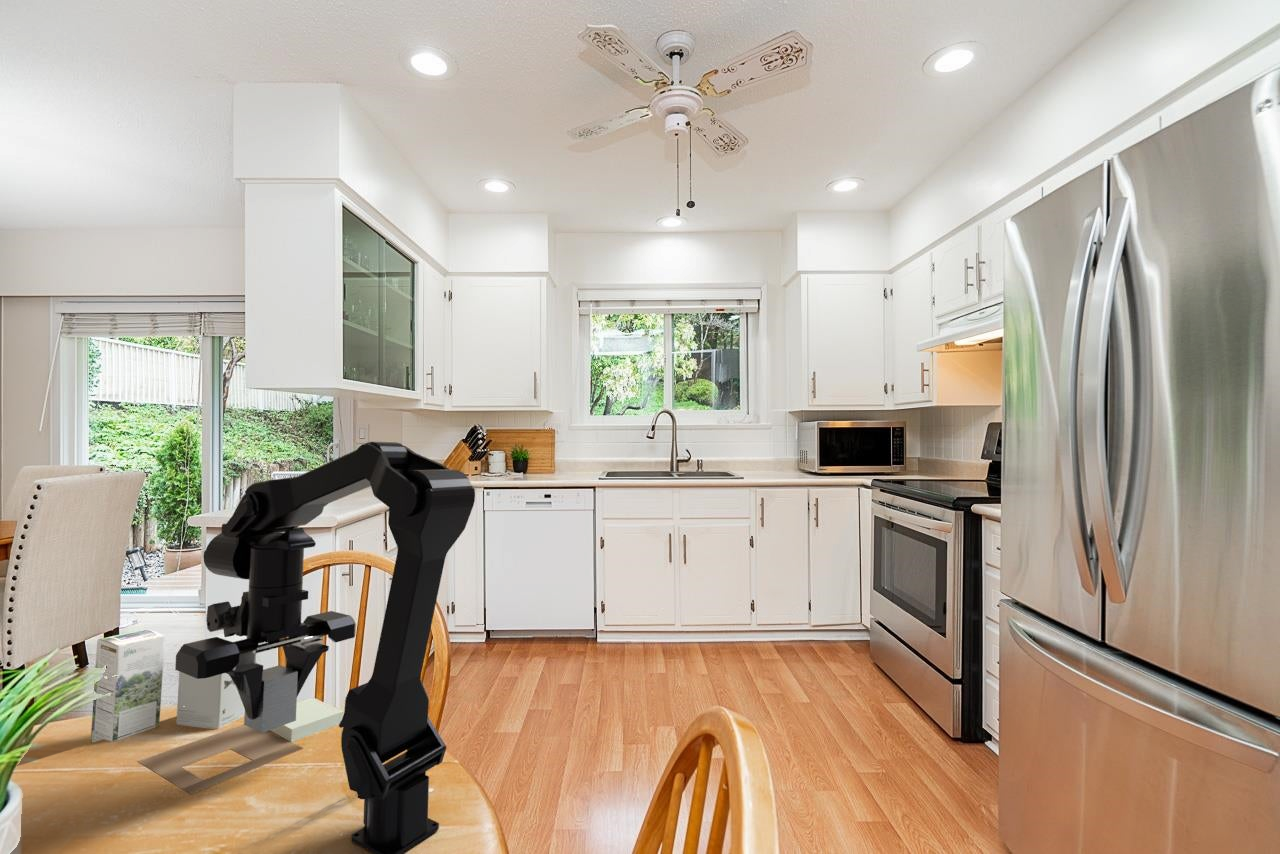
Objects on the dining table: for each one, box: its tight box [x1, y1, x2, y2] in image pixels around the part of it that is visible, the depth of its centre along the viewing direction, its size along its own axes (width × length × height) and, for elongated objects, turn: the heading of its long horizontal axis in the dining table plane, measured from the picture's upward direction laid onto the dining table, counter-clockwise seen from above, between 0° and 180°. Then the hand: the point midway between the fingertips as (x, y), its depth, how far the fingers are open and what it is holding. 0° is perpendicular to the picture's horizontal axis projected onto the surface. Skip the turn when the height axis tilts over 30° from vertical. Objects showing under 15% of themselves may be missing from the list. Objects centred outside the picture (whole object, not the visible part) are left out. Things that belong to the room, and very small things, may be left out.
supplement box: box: [175, 632, 262, 730], centre depth 90 cm, size 7×7×13 cm
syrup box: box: [90, 629, 166, 744], centre depth 86 cm, size 6×6×14 cm
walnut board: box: [137, 723, 304, 795], centre depth 79 cm, size 14×13×2 cm
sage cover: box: [270, 697, 344, 743], centre depth 88 cm, size 8×7×4 cm
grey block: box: [243, 664, 298, 733], centre depth 75 cm, size 4×4×6 cm
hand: (270, 712), depth 74 cm, fingers closed on grey block, 4 cm apart
